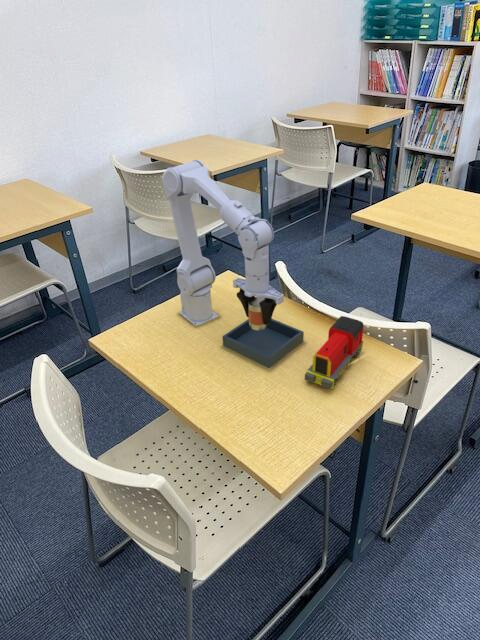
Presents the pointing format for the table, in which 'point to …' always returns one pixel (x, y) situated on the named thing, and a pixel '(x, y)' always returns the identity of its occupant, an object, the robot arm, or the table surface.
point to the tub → (263, 341)
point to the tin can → (256, 314)
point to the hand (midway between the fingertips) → (258, 319)
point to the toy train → (336, 352)
